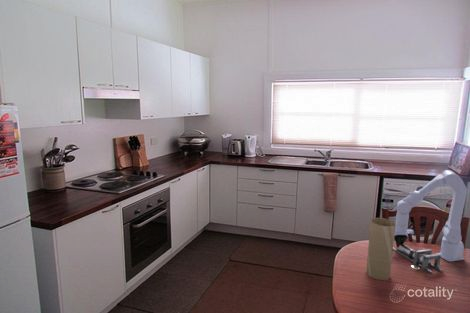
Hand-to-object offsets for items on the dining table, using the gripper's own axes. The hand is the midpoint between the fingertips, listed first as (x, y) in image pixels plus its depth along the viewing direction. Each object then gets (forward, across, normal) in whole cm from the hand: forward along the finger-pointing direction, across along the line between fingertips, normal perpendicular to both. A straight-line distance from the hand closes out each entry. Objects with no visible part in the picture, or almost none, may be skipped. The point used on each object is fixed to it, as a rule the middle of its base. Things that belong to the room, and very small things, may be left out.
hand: (399, 247), depth 169 cm
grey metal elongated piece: (+1, 0, +10) cm, 10 cm away
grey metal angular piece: (+1, +2, +11) cm, 11 cm away
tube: (+1, +27, +18) cm, 32 cm away
